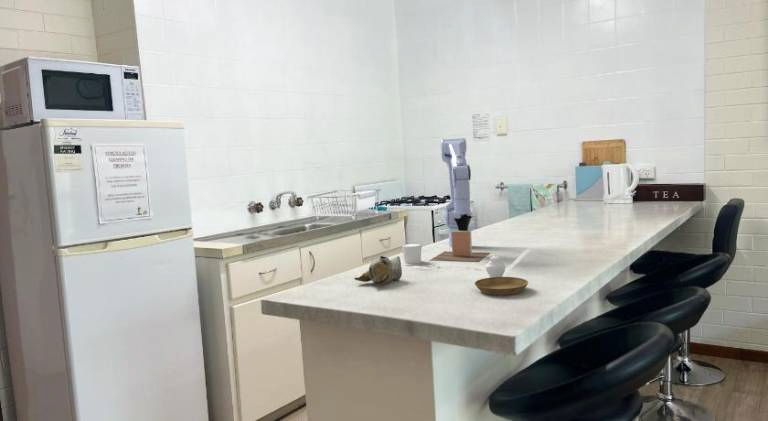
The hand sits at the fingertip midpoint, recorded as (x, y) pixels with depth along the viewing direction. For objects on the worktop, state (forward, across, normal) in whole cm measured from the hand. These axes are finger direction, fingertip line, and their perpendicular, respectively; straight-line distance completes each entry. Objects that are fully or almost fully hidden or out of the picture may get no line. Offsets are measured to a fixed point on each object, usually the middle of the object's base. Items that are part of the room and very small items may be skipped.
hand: (463, 235), depth 218 cm
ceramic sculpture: (+8, +44, -13) cm, 47 cm away
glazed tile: (+7, +2, 0) cm, 7 cm away
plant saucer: (+8, +46, +24) cm, 53 cm away
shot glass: (+8, +16, -14) cm, 23 cm away
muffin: (+8, +31, +19) cm, 38 cm away
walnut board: (+8, +4, 0) cm, 9 cm away
